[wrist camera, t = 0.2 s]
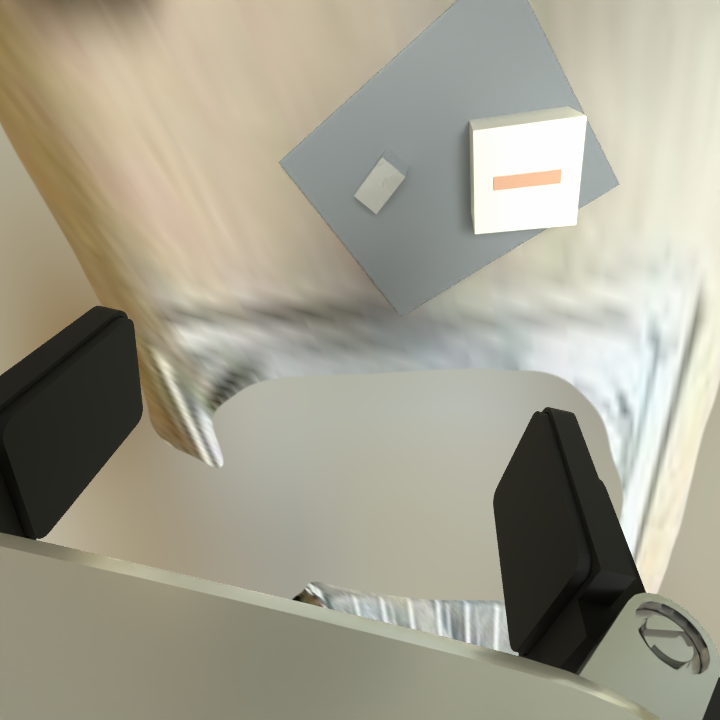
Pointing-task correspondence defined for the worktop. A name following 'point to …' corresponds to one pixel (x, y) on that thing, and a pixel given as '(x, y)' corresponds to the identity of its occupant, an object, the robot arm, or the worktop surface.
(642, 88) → the worktop surface
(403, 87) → the base plate
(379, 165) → the pale grey block
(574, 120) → the white striped cube
